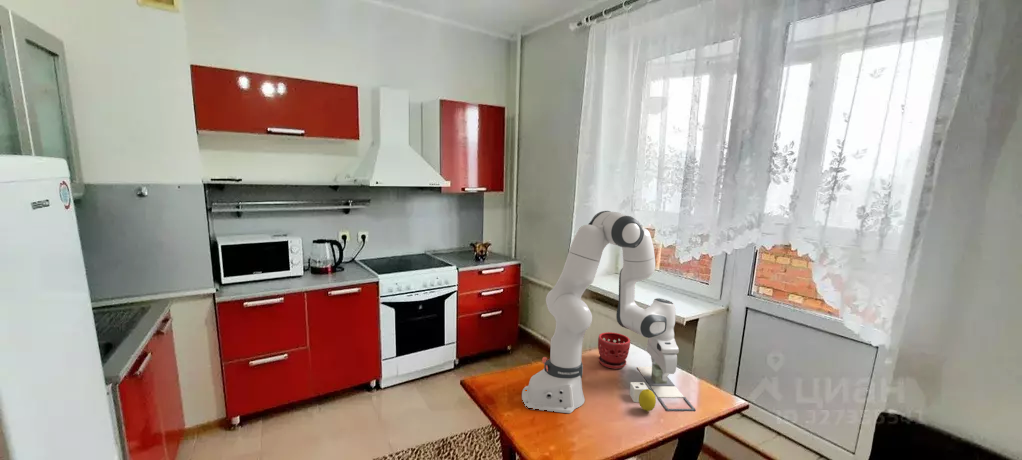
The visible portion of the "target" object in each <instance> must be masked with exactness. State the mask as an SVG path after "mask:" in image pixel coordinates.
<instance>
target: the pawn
mask: <svg viewBox="0 0 1022 460" xmlns="http://www.w3.org/2000/svg"><path fill="white" fill-rule="evenodd" d="M651 367H652V375H651V378H652V380H653V381H654V382H655V384H667V381H663V380H662V379H661V374H663V372H662V369H661V368H660V367H659V365H658V364H657V363H656V362H655V365H652V364H651Z"/></svg>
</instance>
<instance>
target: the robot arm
mask: <svg viewBox="0 0 1022 460" xmlns="http://www.w3.org/2000/svg"><path fill="white" fill-rule="evenodd" d="M609 244H610V245H615V246H618V247H621V250H622V263H623V265H622V268H621V269H620V271H619V275H618V305H617V309H616V314H615V315H616V316H615V317H616V322H617V323H618V325H619V326H620V327H622V328H623V329H624V328H625V329H626V330H630V331H632V332H634V333H635V334H638V335H639V336H642V337H644V338H647V343H646V352H647V354H649V356H650V359H651V366H652V365H655V362H656V363H657V364H658V365H659V367H660V368H661V369H662V372H663V374H661V379H662V380H663V381H667V377H669V375H675V373H676V371H677V365H678V364H677V363H678V355H677V354H679V352H680V350H679V346H678V345H677V342H676V339H675V324H676V305H675V304H674V303H673V301H670V300H668V299H664V298H659V297H657V298H654V299H653V301H652V303H651V305H649V306H648V307H647V308H643V307H641V306H639V305H638V304H637V303H636V301H635V293H636V291H635V289H636V283H637V282H643V281H645V280H647V279H649V278H650V277H651V276H653V274H654V273H655V271H656V255H655V247H654V242H653V239H652V236H651V232H650V231H649V230H648V229H647V228H646V227H643V226H642V224H641V223H640V222H639V221H638V220H637V219H636V218H635V217H633V216H629V215H626V214H623V213H622V212H618V211H610V210H602V211H600V212H598V213H596V214H594V216H593V217H592V218H591V220H590V221H589V223H588V224H584V225H581V226H579V228H578V230H577V232H576V234H575V236H574V238H573V240H572V242H571V245H570V247H569V250H568V254H567V256H566V258H565V259H566V260H565V263H564V266H563V269H562V270H561V271H562V272H561V274H560V275H559V278H558V280H557V281H556V283H555V284H554V286H553V288H552V289H550V291H548V292H547V295H546V296H545V303H546V307H547V310H548V312H549V314H551V316H553V317H554V321H555V328H554V329H555V330H554V332H553V333H554V334H553V336H551V339H550V352H549V353H550V356H549V357H550V358H549V359H548V357H547V356H543V357H542V359H541V361H542V364H543V369H542V370H539V371H538V372H537V373H534V374H533V375H532V376H531V377H530V379H529V382H528V385H526V386H524V388H523V389H522V391H521V401H522V400H523V401H522V403H523V402H524V404H525V405H524V404H523V405H524V406H525V407H526V406H527V407H528V408H533V409H532V410H535V409H539V410H538V411H544V410H547V411H546V412H553V411H554V412H555V413H564V414H572V412H573V411H574V410H576V409H577V408H579V407H581V406H583V405H584V403H585V396H584V392H583V391H584V390H583V382H582V378H583V373H584V371H583V370H584V365H583V361H582V357H583V356H582V353H583V341H584V336H585V333H586V332H587V330H588V329H589V328H590V327H591V325H592V322H593V314H592V312H591V310H590V308H589V306H588V304H587V303H586V302H585V301H584V300H583V299H582V296H583V294H584V292H585V291H586V289H587V288H588V287H589V286H591V285H592V284H593V283H594V280H595V278H596V274H597V271H598V269H599V266H600V261H601V258H602V255H603V251H604V249H605V248H606V247H607V246H608V245H609ZM525 390H527V391H525ZM527 407H526V408H527ZM528 408H527V409H528Z"/></svg>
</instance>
